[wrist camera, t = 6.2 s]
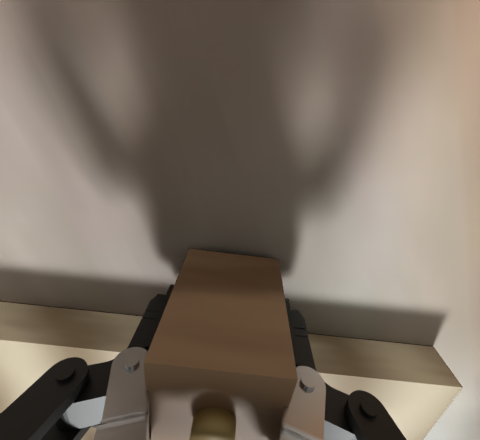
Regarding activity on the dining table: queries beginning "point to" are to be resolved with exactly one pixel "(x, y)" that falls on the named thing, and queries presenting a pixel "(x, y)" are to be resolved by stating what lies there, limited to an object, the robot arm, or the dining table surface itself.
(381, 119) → the dining table surface
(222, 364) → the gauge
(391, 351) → the board
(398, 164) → the dining table surface
